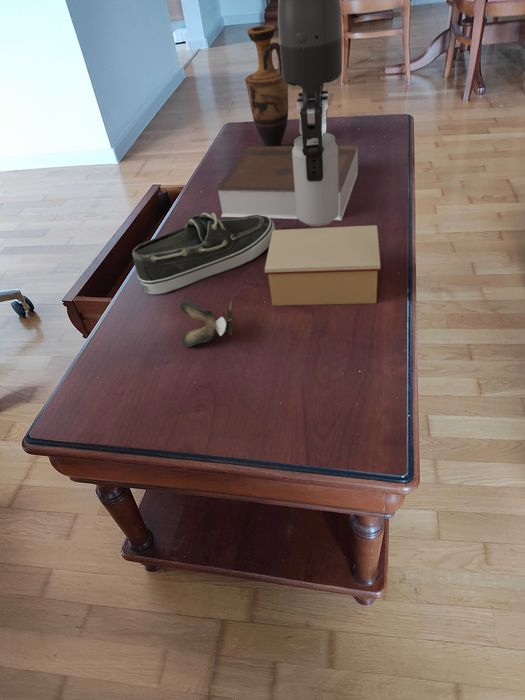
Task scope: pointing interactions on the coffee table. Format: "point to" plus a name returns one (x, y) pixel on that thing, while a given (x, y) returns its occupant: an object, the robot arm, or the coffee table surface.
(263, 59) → the vase
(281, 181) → the book
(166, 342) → the coffee table surface
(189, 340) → the eagle figurine
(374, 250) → the lidded cardboard box
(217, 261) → the boat shoe
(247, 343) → the coffee table surface
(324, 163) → the beverage can
